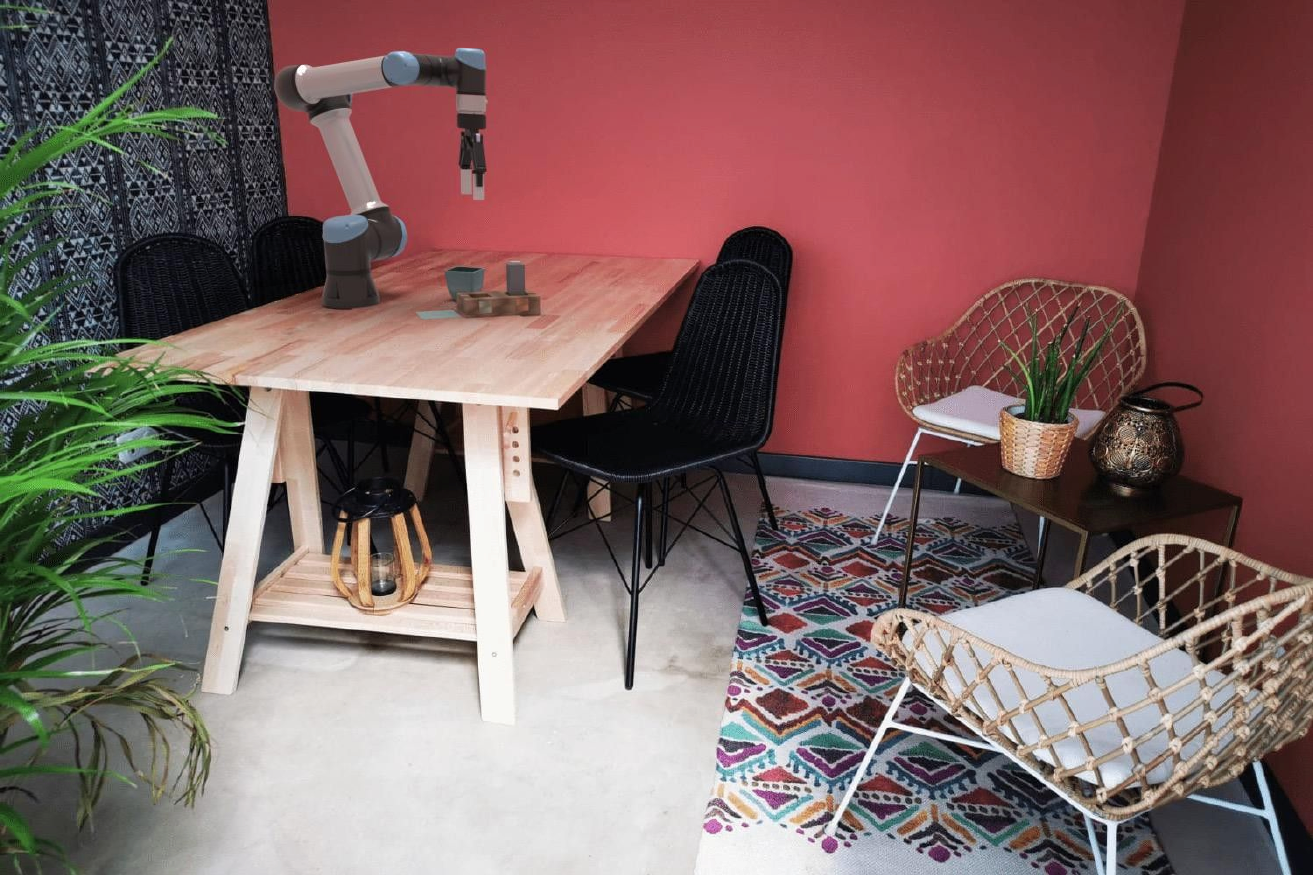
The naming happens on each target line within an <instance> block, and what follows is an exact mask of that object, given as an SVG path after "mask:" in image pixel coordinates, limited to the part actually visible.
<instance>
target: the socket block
mask: <svg viewBox="0 0 1313 875" xmlns="http://www.w3.org/2000/svg"><path fill="white" fill-rule="evenodd" d="M455 301H456V311H457V312H459V313H460V314H461V316H463V317H465V318H466V319H475V318H487V317H488V318H490V317H504V316H505V317H506V316H520V317H523V316H525V317H526V316H540V315H541V313H542V312H541V295H539V294H538V293H535V292H534V291H532V290H530V289H527V288H525V295H517V296H508V295H507V289H505V290H489V291H488V290H487V291H481V292H465V293H456V300H455Z"/></svg>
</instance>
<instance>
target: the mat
mask: <svg viewBox="0 0 1313 875" xmlns="http://www.w3.org/2000/svg"><path fill="white" fill-rule="evenodd" d="M415 313H416V315H417V316H418V317H420V319H422V320H425V321H426V320H439V319H454V318H455V319H456V318H462V315H460V314H458V313H457V312H456V311H455V310H454V309H444V310H442V309H441V310H429V311H428V310H426V311H425V310H424V311H415Z"/></svg>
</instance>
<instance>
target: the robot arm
mask: <svg viewBox="0 0 1313 875" xmlns="http://www.w3.org/2000/svg"><path fill="white" fill-rule="evenodd" d="M486 72H487V65H486V53H485V52H484V50H482V49H479V48H471V47H470V48H466V47H458V48H456V49H455V54H454V56H453V55H451V56H449V55H435V54H426V53H416V52H410V51H409V52H408V51H406V50H401V51H399V50H397V51H391V52H389V53H388V54H387V55H381V56H376V57H375V56H374V57H368V58H363V59H358V60H357V59H356V60H351V61H345V62H338V63H333V64H327V65H322V66H311V65H308V64H300V65H294V64H293V65H288V66H284V67H283V68H282V69H280V70H279V71H278V72H277V74H276V75H275V77H274V84H273V88H274V92H275V95H276V97H277V99H278V101H279V102H280V103H281V104H282V105H283V106H285V107H286V108H288V109H289V110H291V111H294V112H304V113H305V112H306V114H307V117H308V120H309V123H310V124H311V125H313V126H314V127H316V128H318V130H319V132H320V134H321V137H322V139H323V142H324V145H325V148H326V150H327V153H328V155H329V157H330V160H331V162H332V166H333V167H334V170H335V173H336V175H337V177H338V180H339V182H340V185H341V187H342V188H341V189H342V190H343V192H344V195H345V198H346V200H347V203H348V206H349V208H350V210H351V212H350V214H346V215H340V216H339V215H338V216H337V215H336V216H333V217H330V218H327V220H324V222H323V224H322V237H321V238H322V239H323V240H322V242H323V251H324V262H325V271H326V272H325V273H326V278H325V283H324V287H323V290H322V294H321V295H322V296H321V303H322V306H323V307H326V308H331V309H344V310H347V309H348V310H350V309H357V308H359V309H361V308H366V307H367V308H368V307H372V306H376V305H379V304H381V301H380V294H379V291H378V289H377V286H376V283H375V281H374V279H373V277H372V269H371V268H372V267H371V262H375V261H380V260H389V259H391V258H393V257H397V256H398V255H400V254H401V253H402V252H403V250H404V249H405V247H406V245H407V241H408V233H407V232H408V231H407V227H406V225H405V223H404V222H403V221H402V219H400V218H398V216H396V215H393V214H392V211H391V209H390V206H389V205H388V204H386V203H384V202H383V201H381V197H380V195H379V192H378V191H377V188H376V185H375V183H374V180H373V177H372V174H371V173H370V169H369V167H368V165H367V162H366V159H365V157H364V154H363V151H362V150H361V146H360V144H359V141H358V139H357V135H356V134H355V131H354V128H353V125H352V123H351V121H350V116H351V115H352V113H353V110H352V108H351V105H352V103H353V100H352V99H353V98H354V94H359V93H363V92H365V93H366V92H371V91H377V90H383V89H390V88H399V87H406V86H424V87H427V88H429V87H431V88H434V87H437V88H455V91H456V92H455V93H456V94H455V95H456V96H455V99H456V100H455V103H456V105H455V106H456V108H455V109H456V110H457V111H458V113H457V114H456V127H457V128H458V129H463V130H461V131H460V144H459V145H460V146H459V155H458V166H459V168H460V194H461V195H473V196H472V197H473V198H472V199H473V200H474V201H485V173H486V172H488V169H487V163H486V157H485V156H486V155H485V154H486V153H485V148H484V134H483V133H480V132H479V131H480V130H486V129H487V115H486V114H484V113H486V111H487V104H488V103H489V101H488V100H487V95H486V94H487V93H486V92H487V91H486V89H487V88H486V87H487V86H486V84H487V83H486V81H487V80H486V79H487V78H486V77H487V75H486V74H487V73H486Z"/></svg>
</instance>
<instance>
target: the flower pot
mask: <svg viewBox="0 0 1313 875" xmlns="http://www.w3.org/2000/svg"><path fill="white" fill-rule="evenodd" d="M485 269H486V268H485V267H474V266H461V265H460V266H459V265H458V266H453V267H451V268H449V269H445V270H444V275H445V282H446V287H447V290H448V293H449V294H450V297H451V298H452V299H453V300H454V301H456V293H465V292H483V291H482V290H483V287H484V280H485Z"/></svg>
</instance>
